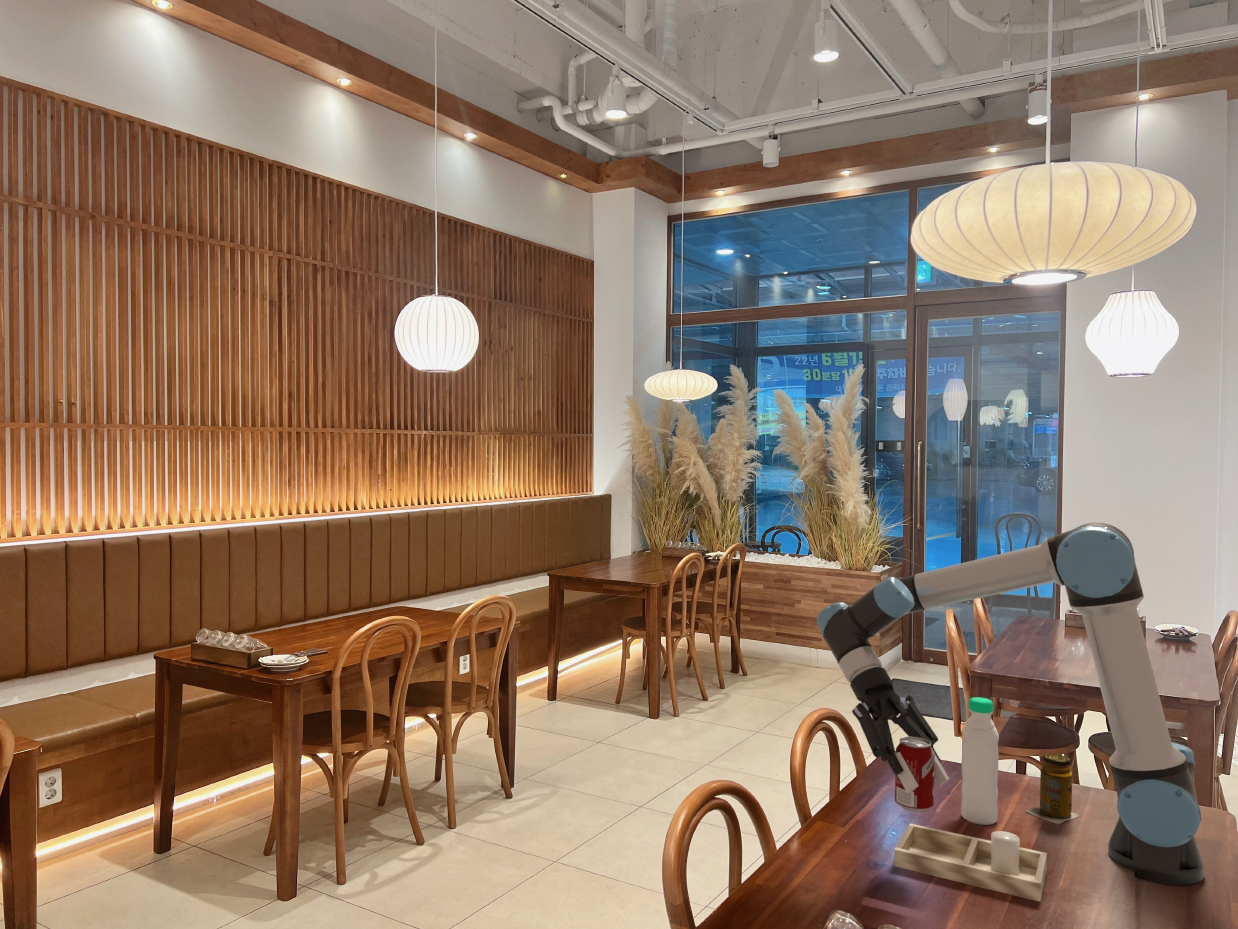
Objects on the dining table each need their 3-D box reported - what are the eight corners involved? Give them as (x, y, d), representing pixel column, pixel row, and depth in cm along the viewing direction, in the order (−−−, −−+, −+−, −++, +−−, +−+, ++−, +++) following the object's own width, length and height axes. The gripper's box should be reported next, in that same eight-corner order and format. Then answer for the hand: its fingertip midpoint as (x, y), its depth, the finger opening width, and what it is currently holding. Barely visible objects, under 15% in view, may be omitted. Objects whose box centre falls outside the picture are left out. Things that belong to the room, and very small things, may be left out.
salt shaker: (1020, 873, 155) (1020, 835, 155) (1017, 884, 151) (1018, 844, 151) (992, 867, 158) (993, 829, 158) (989, 878, 154) (989, 838, 154)
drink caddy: (1046, 875, 157) (1046, 853, 157) (1040, 907, 146) (1040, 883, 146) (909, 843, 169) (909, 823, 169) (894, 871, 158) (894, 849, 158)
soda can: (913, 816, 155) (914, 749, 155) (886, 802, 161) (888, 738, 161) (941, 810, 158) (943, 744, 158) (914, 797, 164) (915, 733, 164)
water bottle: (1004, 821, 180) (1006, 701, 180) (984, 829, 176) (986, 706, 176) (973, 809, 186) (975, 693, 185) (953, 816, 182) (955, 698, 181)
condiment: (1080, 815, 183) (1081, 759, 183) (1058, 825, 179) (1059, 767, 178) (1047, 803, 189) (1048, 749, 189) (1024, 812, 185) (1025, 756, 184)
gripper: (894, 680, 178) (957, 786, 163) (817, 691, 169) (876, 805, 155) (914, 659, 173) (979, 767, 158) (835, 670, 164) (897, 785, 150)
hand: (928, 786), depth 157 cm, fingers closed on soda can, 7 cm apart
